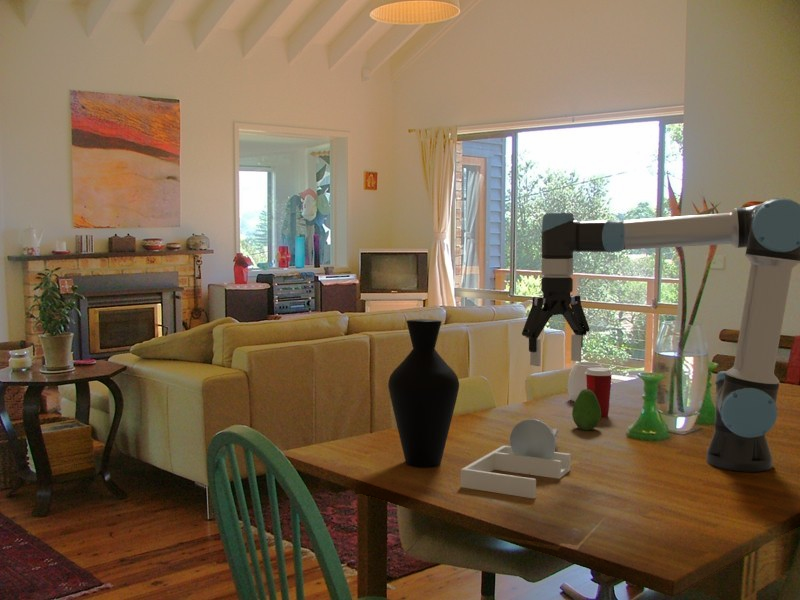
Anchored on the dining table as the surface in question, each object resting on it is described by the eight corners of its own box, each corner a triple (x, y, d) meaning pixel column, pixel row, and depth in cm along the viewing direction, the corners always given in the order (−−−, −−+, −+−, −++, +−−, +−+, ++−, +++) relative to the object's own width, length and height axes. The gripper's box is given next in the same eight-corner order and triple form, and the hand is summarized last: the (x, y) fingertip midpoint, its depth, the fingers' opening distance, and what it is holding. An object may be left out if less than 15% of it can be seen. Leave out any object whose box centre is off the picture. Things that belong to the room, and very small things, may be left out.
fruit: (591, 426, 249) (592, 385, 248) (606, 432, 241) (606, 390, 241) (567, 428, 246) (567, 387, 246) (581, 434, 239) (582, 391, 238)
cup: (562, 400, 289) (563, 361, 288) (600, 399, 291) (600, 360, 290) (574, 407, 276) (575, 366, 275) (613, 407, 277) (614, 366, 277)
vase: (376, 469, 202) (377, 322, 199) (403, 452, 217) (403, 316, 215) (445, 477, 195) (446, 325, 193) (467, 459, 211) (468, 319, 209)
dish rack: (570, 470, 201) (570, 453, 201) (534, 498, 179) (534, 479, 179) (503, 461, 209) (503, 445, 209) (460, 487, 187) (461, 469, 187)
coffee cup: (615, 416, 263) (616, 368, 262) (606, 421, 256) (607, 372, 255) (589, 413, 267) (590, 366, 266) (579, 418, 260) (580, 369, 259)
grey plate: (555, 467, 199) (556, 421, 198) (553, 468, 198) (554, 422, 197) (511, 461, 204) (512, 416, 204) (509, 462, 203) (510, 417, 203)
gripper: (582, 274, 216) (581, 357, 217) (507, 277, 202) (507, 365, 204) (604, 275, 210) (603, 360, 211) (528, 278, 196) (528, 369, 197)
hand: (556, 363), depth 207 cm, fingers open, 13 cm apart
